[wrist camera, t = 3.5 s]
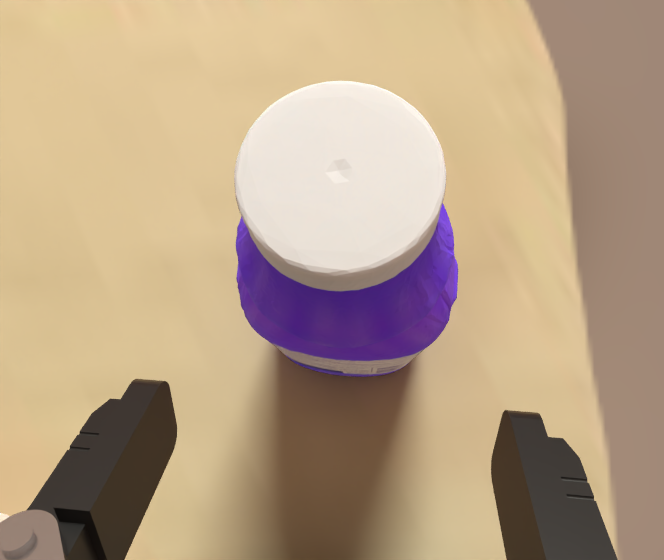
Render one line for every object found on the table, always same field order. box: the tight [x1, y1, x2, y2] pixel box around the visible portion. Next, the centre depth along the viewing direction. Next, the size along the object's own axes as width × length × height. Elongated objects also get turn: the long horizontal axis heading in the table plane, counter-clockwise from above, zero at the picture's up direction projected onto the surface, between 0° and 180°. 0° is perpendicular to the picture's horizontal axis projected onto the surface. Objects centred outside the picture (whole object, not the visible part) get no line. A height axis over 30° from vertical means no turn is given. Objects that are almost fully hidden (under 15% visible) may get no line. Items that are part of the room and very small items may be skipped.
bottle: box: [234, 81, 458, 377], centre depth 18 cm, size 7×6×17 cm
